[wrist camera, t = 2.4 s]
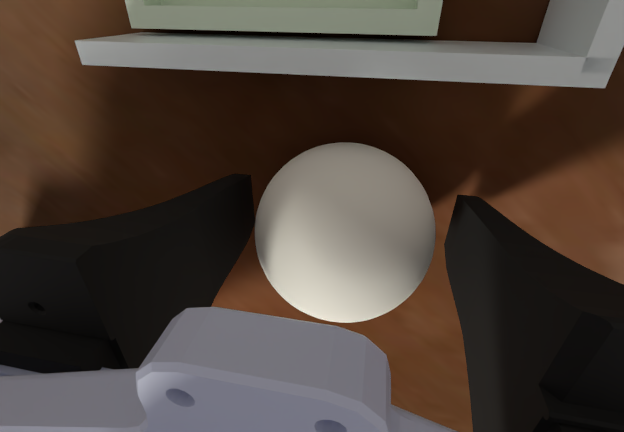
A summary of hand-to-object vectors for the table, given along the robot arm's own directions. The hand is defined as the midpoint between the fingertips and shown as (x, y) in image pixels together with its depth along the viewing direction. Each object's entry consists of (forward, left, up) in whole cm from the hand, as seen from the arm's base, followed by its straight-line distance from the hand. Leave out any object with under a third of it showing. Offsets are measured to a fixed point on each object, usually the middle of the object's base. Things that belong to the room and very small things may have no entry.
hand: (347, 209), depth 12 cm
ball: (0, 0, -1) cm, 1 cm away
